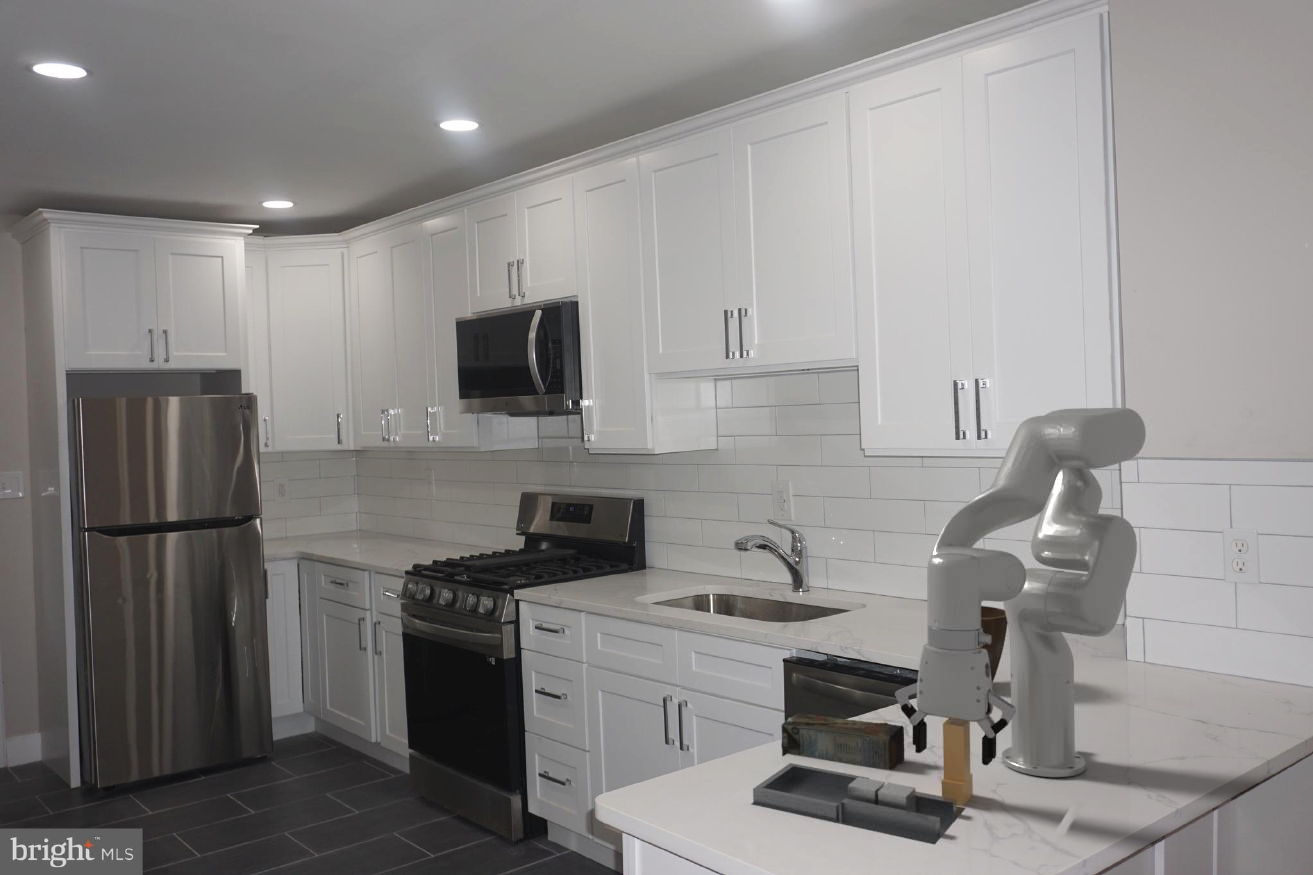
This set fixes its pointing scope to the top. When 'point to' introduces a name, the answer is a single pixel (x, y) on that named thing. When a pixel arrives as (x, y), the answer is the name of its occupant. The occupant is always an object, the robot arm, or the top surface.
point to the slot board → (852, 804)
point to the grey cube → (898, 797)
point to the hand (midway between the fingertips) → (953, 756)
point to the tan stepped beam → (957, 761)
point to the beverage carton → (844, 741)
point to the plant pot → (994, 634)
